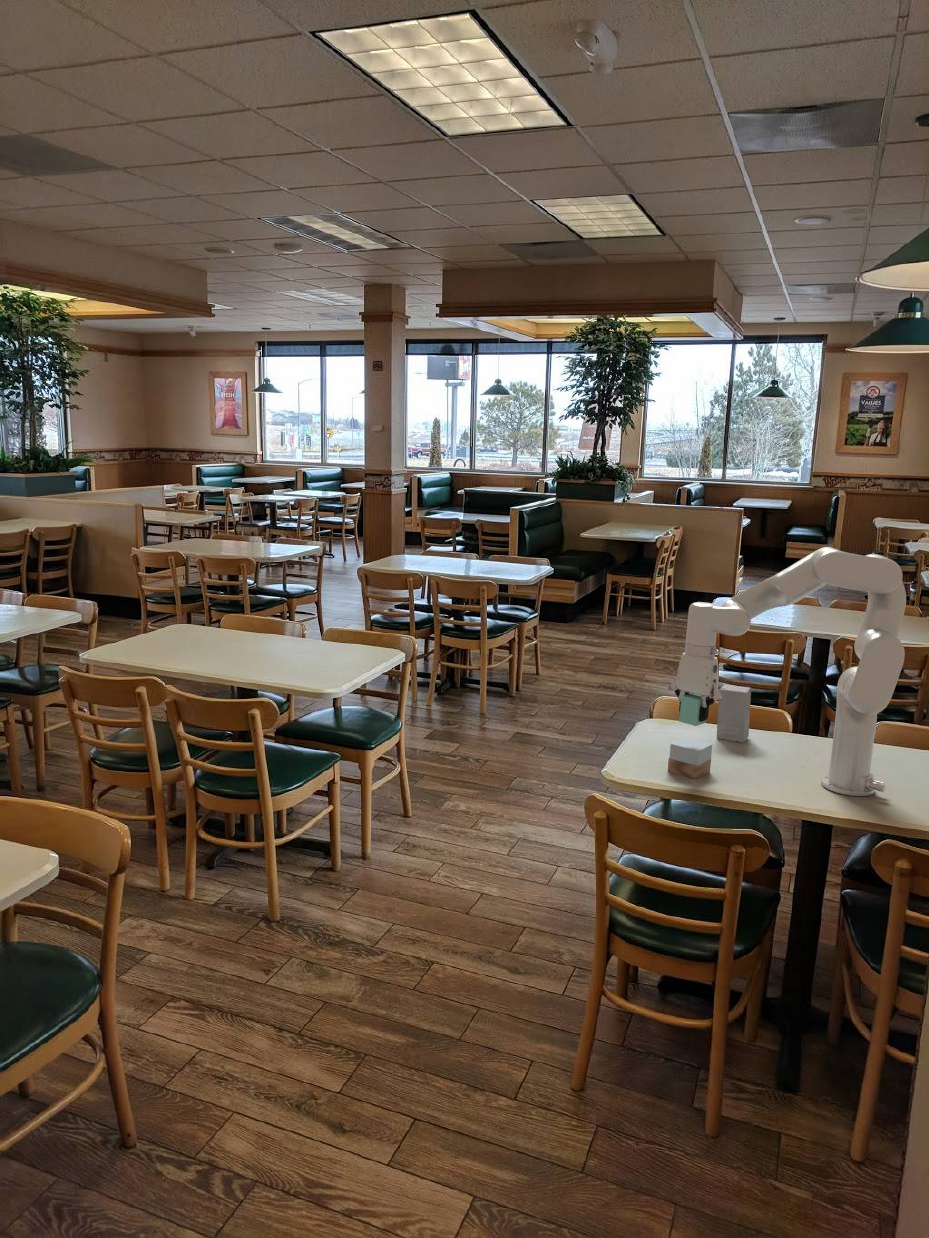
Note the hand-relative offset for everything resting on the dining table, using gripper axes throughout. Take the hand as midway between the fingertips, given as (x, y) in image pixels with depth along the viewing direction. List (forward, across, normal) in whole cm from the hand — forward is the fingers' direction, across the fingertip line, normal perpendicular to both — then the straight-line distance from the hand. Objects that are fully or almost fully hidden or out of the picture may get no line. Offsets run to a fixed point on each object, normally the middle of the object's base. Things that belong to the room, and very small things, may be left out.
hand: (693, 717), depth 233 cm
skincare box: (+15, +7, -36) cm, 40 cm away
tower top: (+11, 0, 0) cm, 11 cm away
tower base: (+15, 0, 0) cm, 15 cm away
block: (+1, 0, 0) cm, 1 cm away
